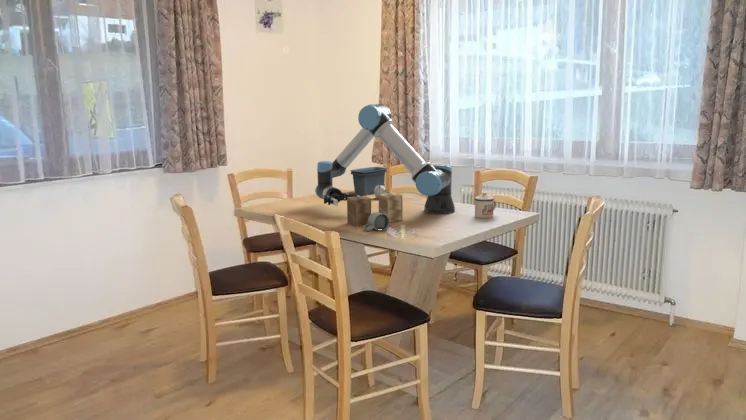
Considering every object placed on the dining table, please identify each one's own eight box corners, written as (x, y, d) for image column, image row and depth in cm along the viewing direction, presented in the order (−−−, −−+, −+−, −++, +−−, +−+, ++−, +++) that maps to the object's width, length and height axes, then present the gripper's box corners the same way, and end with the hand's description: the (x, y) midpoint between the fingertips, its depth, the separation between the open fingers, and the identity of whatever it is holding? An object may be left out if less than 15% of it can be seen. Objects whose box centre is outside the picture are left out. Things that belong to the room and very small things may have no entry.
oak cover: (394, 217, 289) (393, 192, 286) (402, 220, 282) (402, 195, 279) (378, 219, 285) (378, 194, 283) (386, 222, 278) (386, 196, 276)
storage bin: (363, 196, 346) (362, 171, 344) (345, 193, 358) (345, 169, 355) (390, 192, 360) (389, 168, 358) (372, 189, 372) (372, 166, 369)
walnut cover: (363, 221, 282) (363, 195, 279) (371, 224, 275) (371, 198, 272) (347, 223, 278) (346, 197, 276) (355, 226, 271) (354, 200, 269)
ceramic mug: (382, 226, 270) (381, 209, 269) (390, 230, 263) (389, 212, 261) (360, 229, 266) (359, 212, 265) (367, 233, 259) (367, 215, 257)
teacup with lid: (483, 219, 282) (483, 194, 280) (470, 216, 289) (470, 192, 287) (502, 216, 288) (503, 192, 286) (489, 213, 296) (489, 189, 293)
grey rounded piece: (381, 205, 338) (379, 193, 331) (369, 199, 342) (368, 186, 335) (391, 196, 342) (390, 184, 335) (380, 189, 346) (378, 177, 339)
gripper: (355, 199, 308) (374, 206, 289) (309, 204, 297) (325, 212, 278) (355, 185, 306) (374, 191, 288) (308, 189, 296) (325, 196, 277)
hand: (350, 201), depth 283 cm, fingers open, 13 cm apart
